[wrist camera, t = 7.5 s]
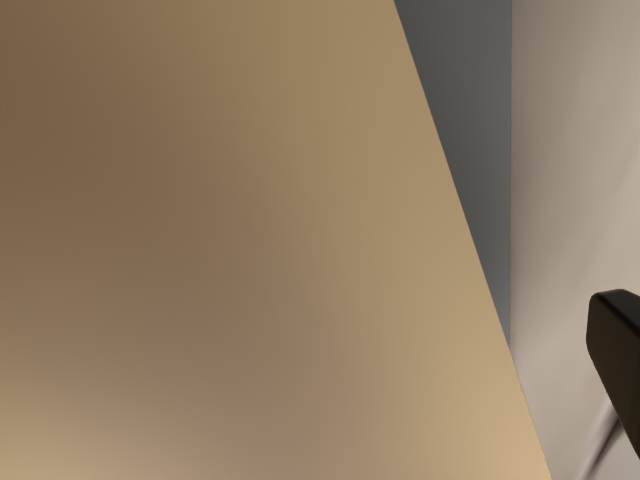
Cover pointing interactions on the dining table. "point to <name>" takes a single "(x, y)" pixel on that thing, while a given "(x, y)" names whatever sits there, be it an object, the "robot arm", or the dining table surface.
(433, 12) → the peg rack
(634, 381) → the robot arm
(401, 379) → the shelf board
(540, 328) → the dining table surface
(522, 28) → the dining table surface
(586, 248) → the dining table surface
